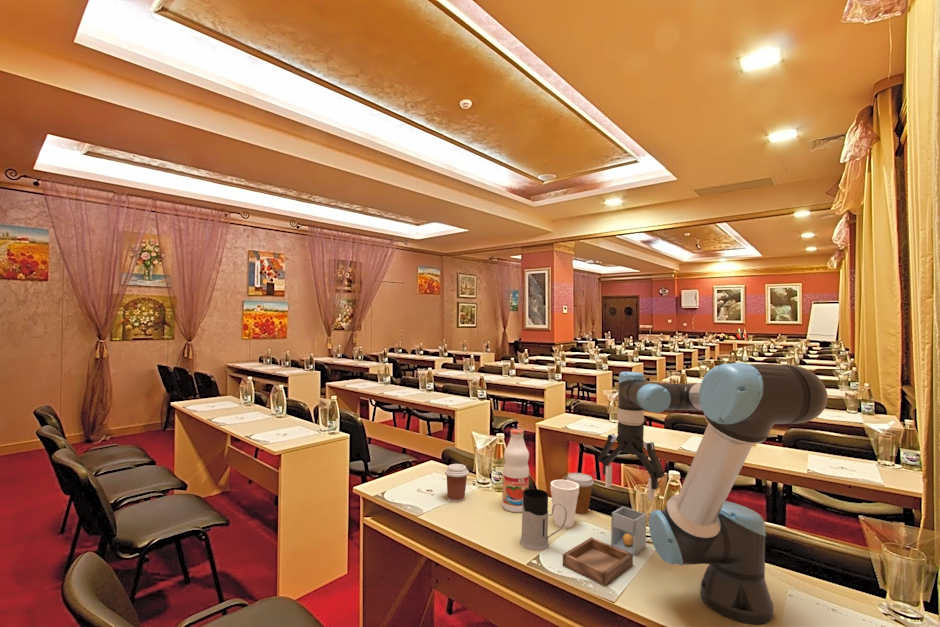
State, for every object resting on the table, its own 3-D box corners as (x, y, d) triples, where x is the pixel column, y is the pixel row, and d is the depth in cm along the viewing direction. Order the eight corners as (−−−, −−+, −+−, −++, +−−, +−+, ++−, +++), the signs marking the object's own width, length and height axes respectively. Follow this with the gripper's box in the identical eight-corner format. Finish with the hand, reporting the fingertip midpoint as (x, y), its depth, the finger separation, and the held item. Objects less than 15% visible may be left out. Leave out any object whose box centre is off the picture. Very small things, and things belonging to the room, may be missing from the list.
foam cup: (576, 518, 152) (577, 480, 152) (580, 530, 142) (581, 490, 143) (548, 516, 153) (549, 478, 153) (550, 528, 143) (551, 488, 144)
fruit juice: (522, 501, 165) (524, 426, 166) (531, 512, 156) (534, 432, 157) (498, 503, 163) (501, 427, 164) (506, 513, 154) (509, 433, 154)
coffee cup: (443, 503, 161) (444, 470, 162) (444, 493, 170) (445, 462, 171) (468, 503, 161) (469, 470, 162) (467, 494, 170) (468, 463, 171)
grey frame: (622, 538, 138) (623, 506, 138) (645, 547, 133) (646, 513, 133) (610, 546, 133) (611, 512, 133) (634, 555, 128) (635, 520, 128)
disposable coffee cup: (560, 506, 162) (561, 473, 162) (582, 503, 165) (583, 471, 165) (575, 517, 153) (576, 482, 153) (598, 514, 156) (599, 480, 156)
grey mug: (526, 533, 139) (528, 486, 140) (570, 546, 132) (571, 496, 132) (515, 545, 132) (516, 494, 132) (560, 559, 124) (561, 505, 125)
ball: (636, 545, 132) (635, 535, 132) (628, 548, 131) (627, 538, 131) (628, 540, 135) (628, 530, 135) (620, 543, 134) (620, 533, 134)
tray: (632, 565, 122) (632, 554, 123) (605, 586, 112) (606, 574, 112) (590, 547, 132) (591, 537, 132) (562, 565, 121) (562, 554, 121)
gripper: (677, 428, 128) (676, 502, 127) (599, 414, 146) (598, 478, 145) (667, 432, 123) (665, 509, 122) (587, 417, 140) (586, 484, 140)
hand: (629, 492), depth 134 cm, fingers open, 13 cm apart
